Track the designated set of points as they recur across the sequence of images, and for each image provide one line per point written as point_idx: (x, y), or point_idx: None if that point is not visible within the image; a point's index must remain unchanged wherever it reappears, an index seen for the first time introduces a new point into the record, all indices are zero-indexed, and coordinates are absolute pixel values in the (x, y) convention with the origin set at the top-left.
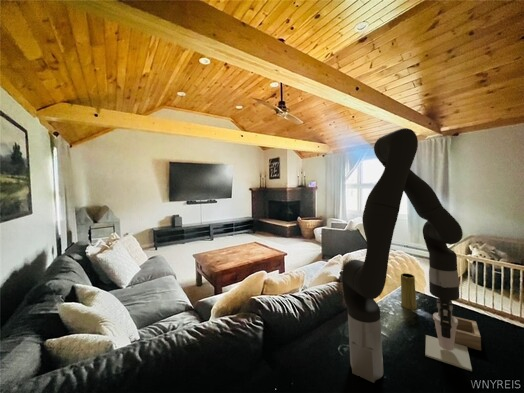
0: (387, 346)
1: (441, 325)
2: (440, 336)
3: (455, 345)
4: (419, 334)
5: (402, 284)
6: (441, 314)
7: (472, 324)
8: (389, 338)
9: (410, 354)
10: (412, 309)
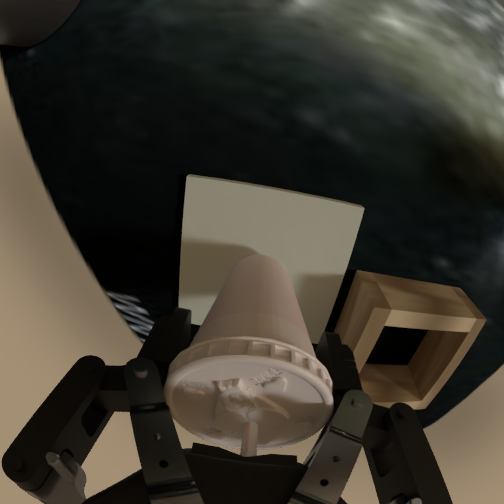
0: (191, 14)
1: (76, 364)
2: (221, 292)
3: (314, 311)
4: (372, 177)
5: None
6: (22, 437)
7: (406, 402)
8: (268, 18)
9: (171, 110)
10: None
